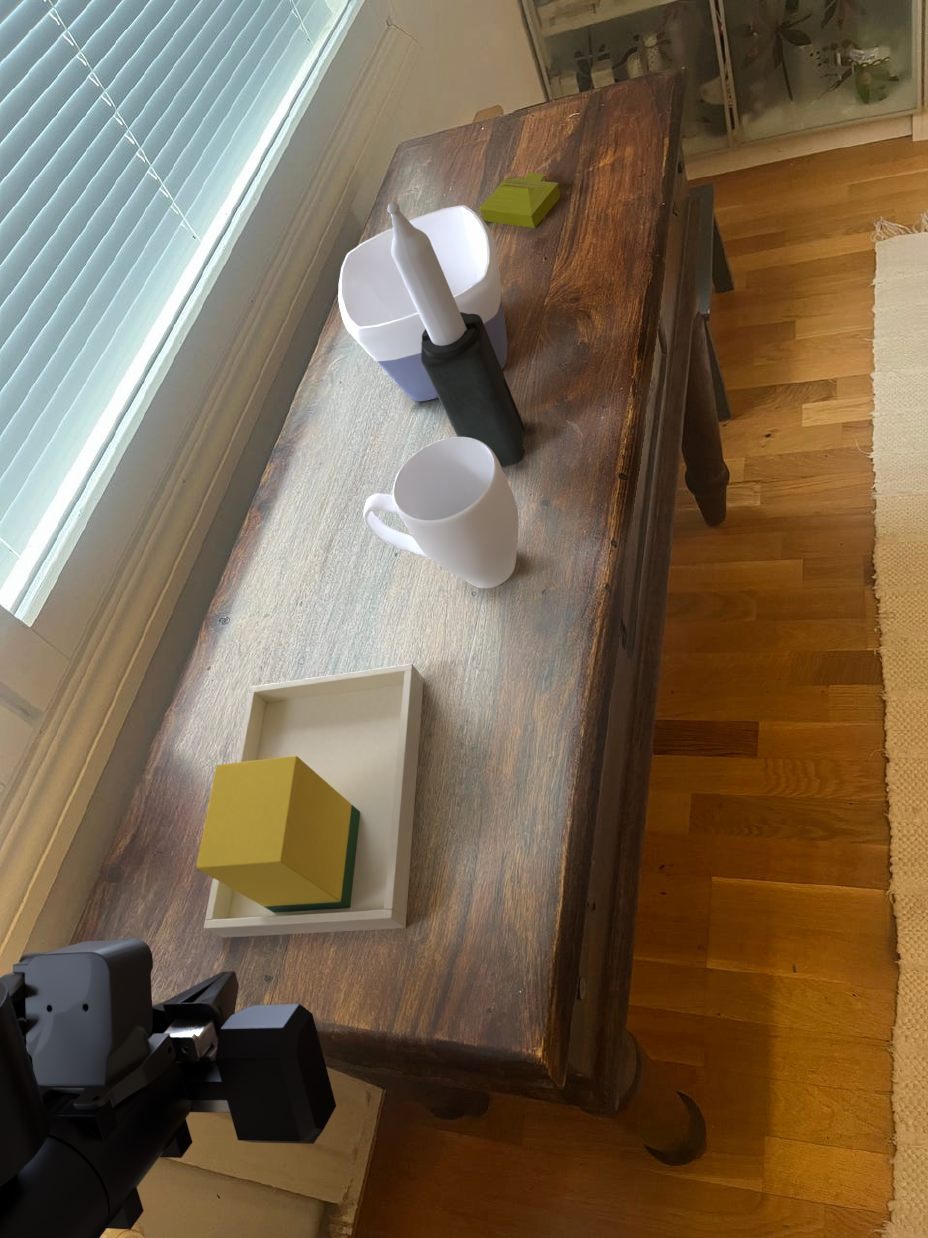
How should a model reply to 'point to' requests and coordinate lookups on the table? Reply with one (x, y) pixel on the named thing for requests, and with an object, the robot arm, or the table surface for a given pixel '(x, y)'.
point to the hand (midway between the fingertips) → (231, 978)
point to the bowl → (387, 310)
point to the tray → (340, 789)
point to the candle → (457, 350)
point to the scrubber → (280, 836)
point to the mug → (453, 511)
